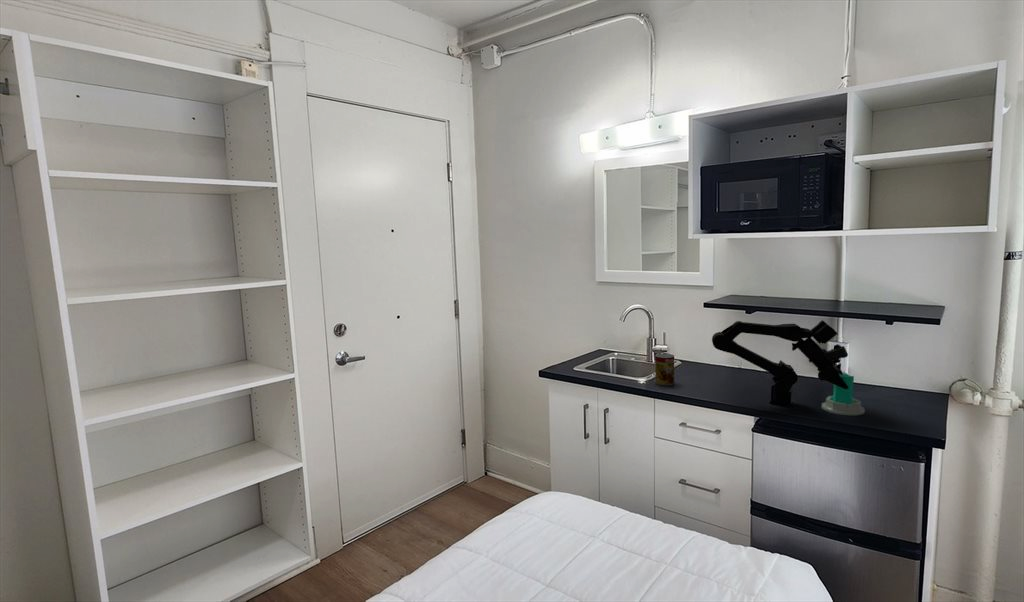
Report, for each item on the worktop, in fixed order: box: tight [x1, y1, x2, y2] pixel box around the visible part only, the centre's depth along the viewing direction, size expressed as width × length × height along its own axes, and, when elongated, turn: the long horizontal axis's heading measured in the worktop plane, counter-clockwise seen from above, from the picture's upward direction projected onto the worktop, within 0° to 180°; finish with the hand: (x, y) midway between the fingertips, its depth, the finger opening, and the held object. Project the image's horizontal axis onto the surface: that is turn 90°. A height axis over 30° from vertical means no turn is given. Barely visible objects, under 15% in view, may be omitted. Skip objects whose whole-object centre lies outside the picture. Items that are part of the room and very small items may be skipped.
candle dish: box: [821, 395, 866, 417], centre depth 190 cm, size 13×13×4 cm
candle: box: [832, 373, 855, 404], centre depth 190 cm, size 6×6×12 cm
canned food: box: [654, 353, 675, 386], centre depth 231 cm, size 8×8×12 cm
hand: (847, 386), depth 189 cm, fingers closed on candle, 5 cm apart
